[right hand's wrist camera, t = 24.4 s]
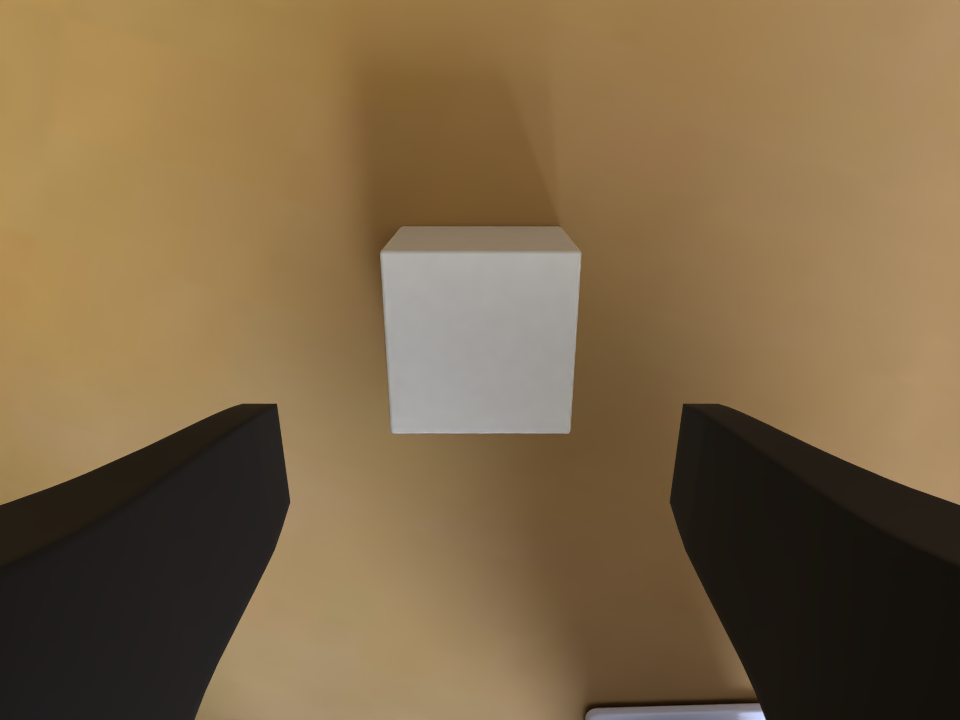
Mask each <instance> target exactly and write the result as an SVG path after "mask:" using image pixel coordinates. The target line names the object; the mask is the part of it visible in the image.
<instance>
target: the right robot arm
mask: <svg viewBox="0 0 960 720" xmlns="http://www.w3.org/2000/svg"><path fill="white" fill-rule="evenodd" d="M289 504H290V497H289V489H288V482H287V475H286V467H285V460H284V453H283V445H282V438H281V431H280V423H279V416H278V409H277V404H240V405H237V406H234V407H231V408H228V409H226V410H223V411H221V412H219V413H216V414H214V415H212V416H210V417H208V418H205V419H203V420H201V421H199V422H197V423H195V424H193V425H191V426H189V427H186V428H184V429H182V430H180V431H178V432H176V433H174V434H172V435H170V436H168V437H166V438H164V439H161V440H159V441H157V442H155V443H153V444H151V445H149V446H147V447H145V448H142V449H140V450H138V451H136V452H133V453H131V454H129V455H127V456H124V457H122V458H120V459H118V460H115V461H113V462H111V463H109V464H106V465H104V466H102V467H100V468H97V469H95V470H93V471H91V472H88V473H86V474H84V475H81V476H79V477H76V478H74V479H71V480H69V481H66V482H64V483H61V484H59V485H56V486H53V487H51V488H48V489H45V490H43V491H40V492H37V493H34V494H31V495H29V496H26V497H23V498H20V499H17V500H15V501H12V502H9V503H6V504H3V505H0V720H194V719H195V717H196V714H197V712H198V709H199V706H200V704H201V701H202V698H203V696H204V693H205V691H206V689H207V686H208V684H209V682H210V680H211V678H212V675H213V673H214V671H215V669H216V666H217V664H218V662H219V660H220V658H221V656H222V654H223V652H224V650H225V648H226V646H227V644H228V642H229V640H230V638H231V636H232V634H233V632H234V631H235V629H236V627H237V625H238V623H239V621H240V619H241V617H242V615H243V613H244V611H245V609H246V607H247V605H248V603H249V601H250V599H251V597H252V595H253V593H254V591H255V589H256V587H257V585H258V583H259V581H260V579H261V577H262V575H263V573H264V571H265V569H266V567H267V565H268V563H269V561H270V558H271V556H272V554H273V552H274V550H275V547H276V544H277V541H278V539H279V536H280V533H281V530H282V527H283V524H284V520H285V517H286V514H287V511H288V508H289ZM670 504H671V508H672V511H673V514H674V517H675V520H676V524H677V527H678V530H679V533H680V536H681V539H682V541H683V544H684V547H685V550H686V552H687V554H688V556H689V558H690V561H691V563H692V565H693V567H694V569H695V571H696V573H697V575H698V577H699V579H700V581H701V583H702V585H703V587H704V589H705V591H706V593H707V595H708V597H709V599H710V601H711V603H712V605H713V607H714V609H715V611H716V613H717V615H718V617H719V619H720V621H721V623H722V625H723V627H724V629H725V631H726V632H727V634H728V636H729V638H730V640H731V642H732V644H733V646H734V648H735V650H736V652H737V654H738V656H739V658H740V660H741V662H742V664H743V666H744V669H745V671H746V673H747V675H748V678H749V680H750V682H751V684H752V686H753V689H754V691H755V693H756V696H757V698H758V701H759V703H747V704H714V705H680V706H647V707H614V708H594V709H592V710H590V711H589V712H588V713H587V714H586V717H585V720H960V505H958V504H955V503H952V502H949V501H946V500H944V499H941V498H938V497H935V496H932V495H929V494H927V493H924V492H921V491H918V490H915V489H912V488H910V487H907V486H905V485H902V484H899V483H897V482H894V481H892V480H889V479H887V478H884V477H882V476H879V475H877V474H875V473H872V472H870V471H868V470H865V469H863V468H861V467H858V466H856V465H854V464H851V463H849V462H846V461H844V460H842V459H840V458H838V457H835V456H833V455H831V454H829V453H827V452H824V451H822V450H820V449H818V448H816V447H814V446H812V445H809V444H807V443H805V442H803V441H801V440H799V439H797V438H795V437H793V436H791V435H788V434H786V433H784V432H782V431H780V430H778V429H776V428H774V427H772V426H770V425H768V424H766V423H763V422H761V421H759V420H757V419H755V418H753V417H751V416H748V415H746V414H744V413H742V412H739V411H737V410H735V409H732V408H729V407H727V406H723V405H720V404H683V409H682V416H681V423H680V431H679V438H678V445H677V453H676V460H675V467H674V475H673V482H672V489H671V497H670Z"/></svg>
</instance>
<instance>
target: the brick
mask: <svg viewBox="0 0 960 720" xmlns="http://www.w3.org/2000/svg"><path fill="white" fill-rule="evenodd" d="M380 264H381V280H382V297H383V313H384V330H385V346H386V363H387V379H388V396H389V413H390V429H391V432H392V433H523V434H568V433H569V432H570V429H571V413H572V397H573V381H574V365H575V349H576V333H577V317H578V301H579V285H580V270H581V251H580V250H579V249H578V248H577V246H576V245H575V244H574V243H573V241H572V240H571V239H570V238H569V237H568V235H567V234H566V233H565V232H564V230H563V229H562V228H561V227H559V226H402V227H400V228H399V229H398V231H397V232H396V233H395V234H394V236H393V237H392V238H391V239H390V241H389V242H388V243H387V244H386V245H385V247H384V248H383V249H382V250H381V252H380Z"/></svg>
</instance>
